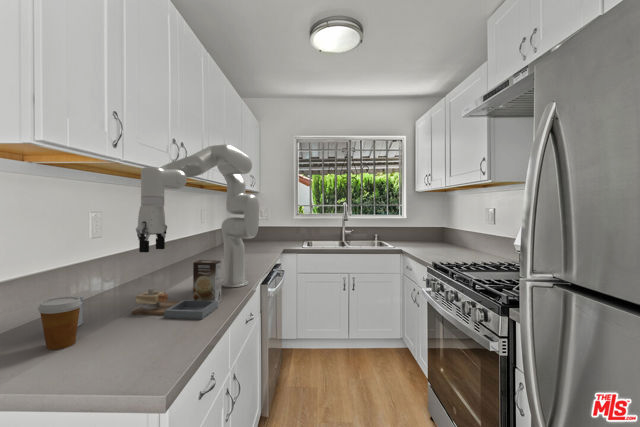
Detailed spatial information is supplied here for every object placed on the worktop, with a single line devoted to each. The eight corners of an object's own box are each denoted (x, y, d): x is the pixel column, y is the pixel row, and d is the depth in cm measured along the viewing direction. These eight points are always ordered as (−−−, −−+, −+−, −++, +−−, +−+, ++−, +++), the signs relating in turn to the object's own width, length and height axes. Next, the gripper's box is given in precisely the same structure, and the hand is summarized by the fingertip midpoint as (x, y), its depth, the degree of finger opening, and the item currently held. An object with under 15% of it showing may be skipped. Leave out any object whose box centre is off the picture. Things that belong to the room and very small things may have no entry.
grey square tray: (183, 306, 131) (183, 299, 131) (218, 307, 129) (218, 300, 129) (164, 317, 118) (164, 310, 118) (202, 319, 116) (202, 311, 116)
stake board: (154, 302, 136) (154, 283, 135) (184, 303, 134) (184, 284, 134) (131, 314, 122) (131, 292, 121) (164, 315, 120) (164, 293, 120)
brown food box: (192, 304, 133) (191, 262, 133) (199, 300, 140) (199, 259, 139) (215, 305, 132) (215, 262, 132) (222, 300, 139) (221, 260, 138)
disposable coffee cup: (28, 352, 90) (27, 305, 90) (58, 337, 100) (57, 295, 100) (64, 352, 90) (63, 306, 90) (90, 338, 99) (90, 296, 99)
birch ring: (147, 297, 129) (147, 291, 129) (171, 298, 128) (171, 291, 128) (136, 303, 122) (135, 296, 122) (160, 304, 122) (160, 296, 121)
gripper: (156, 202, 134) (156, 247, 134) (127, 201, 117) (126, 253, 117) (175, 203, 133) (175, 248, 134) (148, 201, 116) (148, 253, 116)
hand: (152, 250), depth 125 cm, fingers open, 9 cm apart
